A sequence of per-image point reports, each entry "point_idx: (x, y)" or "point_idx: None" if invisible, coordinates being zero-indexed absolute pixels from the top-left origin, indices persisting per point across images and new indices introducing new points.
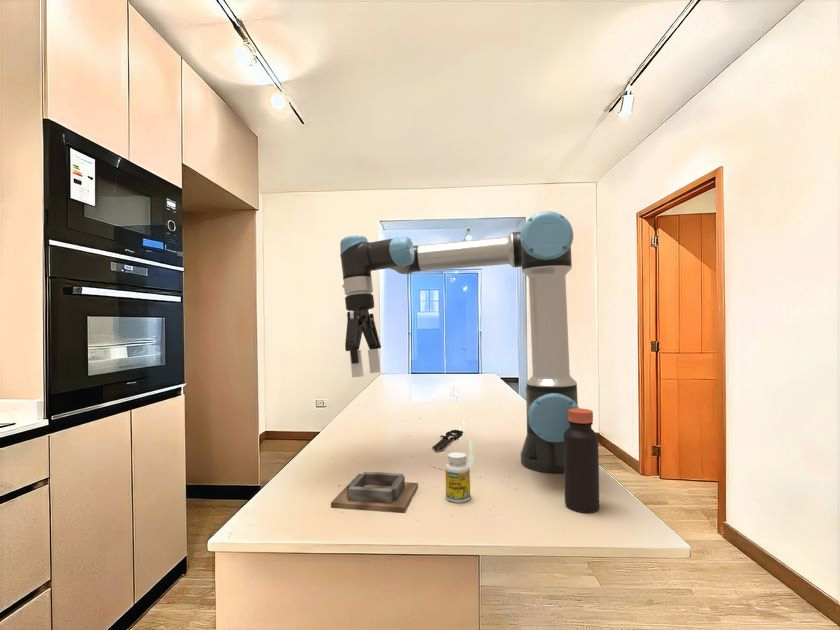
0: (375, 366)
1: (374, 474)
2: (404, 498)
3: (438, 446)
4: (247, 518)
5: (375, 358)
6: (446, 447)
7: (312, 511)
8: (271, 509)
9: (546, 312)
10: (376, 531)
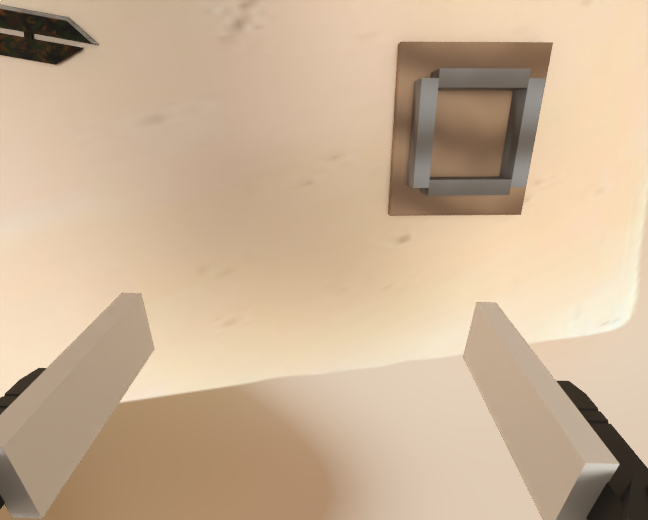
0: (125, 342)
1: (431, 155)
2: (501, 55)
3: (37, 42)
4: (555, 328)
5: (82, 384)
6: (30, 11)
7: (532, 238)
8: (522, 310)
9: None
10: (624, 85)
